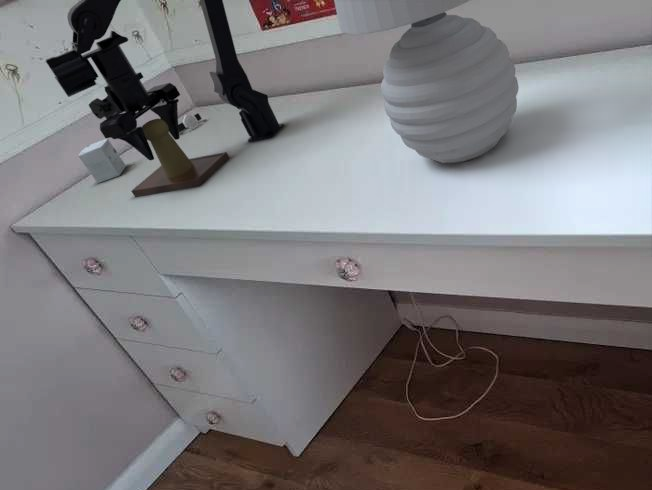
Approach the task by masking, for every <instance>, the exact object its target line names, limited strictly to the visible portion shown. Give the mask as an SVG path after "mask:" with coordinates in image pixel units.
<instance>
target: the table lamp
mask: <svg viewBox="0 0 652 490" xmlns="http://www.w3.org/2000/svg"><path fill="white" fill-rule="evenodd" d="M470 1H471V0H333V3H334V7H335V11H336V16H337V21H338V26H339V30H340V32H342V33H343V34H346V35H359V36H360V35H366V34H367V35H368V34H369V35H370V34H374V33H379V32H385V31H389V30H393V29H397V28H401V27H404V26H408V25H410V28H408V29H407V30H406V31H405V32H404V33H402V35H401V37H400V39H399V40H397V41H396V42H395V43H394V44H393V45H392V47H391V49H390V52H389V58H388V59H387V60H386V61H385V63H384V65H383V71H382V75H383V79H382V81H381V84H380V93H381V96H382V98H383V99H384V102H383V106H384V107H383V108H384V111H385V114H386V116H387V117H389V121H390V126H391V128H392V129H393V130H394V132H395V133H396V134H397V135H399V137H400V139H401V141H402V142H403V143H404V145H405V146H406V147H407V148H410V149H411V150H414V151H415V152H416V153H417V154H418V155H419V156H421V157H423V158H425V159H429V160H433V161H436V162H438V163H442V164H455V163H463V162H467V161H469V160H473V159H475V158H479V157H481V156H483V155H484V154H486V153H488V152H489V151H491V150H492V149H493V148H494V147H496V146H497V144H499V142H500V140H501V138H503V136H504V135H506V133H507V132H508V130H509V129H510V127H511V125H512V120H513V117H514V115H515V114H516V112H517V108H518V99H517V95H518V93H519V88H520V87H519V82H518V79H517V77H516V67H515V66H516V65H515V64H514V61H513V59H512V58H510V51H509V48H508V45H507V44H506V43H505V42H504V41H503V40H501V39H499V38H498V36H497V34H496V33H495V32H494V31H493V29H491V28H490V27H488V26H484V25H481V23H480V22H479V21H478V20H476V19H475V18H473V17H462V16H460V15H458V14H448V13H446V12H448V11H451V10H453V9H455V8H458V7H460V6H462V5H464V4H466V3H468V2H470Z"/></svg>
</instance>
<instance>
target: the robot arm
mask: <svg viewBox="0 0 652 490" xmlns="http://www.w3.org/2000/svg"><path fill="white" fill-rule="evenodd" d="M121 1H122V0H79V1H78V2H77V3H75V4H74V5H73V6H72V7H71V8H70V9H69V11H68V12H67V22H68V25H69V27H70V29H71V31H72V42H71V50H67V51H66V52H64V53H62V54H59V55H57V56H51V57H49V58H46V59H45V63H46V64H47V66H48V68H49V69H50V71H51V72H52V73H53V75H54V79H55V80H56V82H57V83H58V85H59V86H60V87H61V89H62V90H63V92H64V94H65V95H66V96H67V97H68V98H70V97H72V96H75V95H77V94H79V93H81V92H84V91H85V90H88V89H90V88H92V87H95V86H97V82H96V81H97V80H98V79H97V78H99V75H98V73H97V71H96V69H95V68H94V66H93V65H92V63H91V62H90V60H89V59H91V60H92V62H93V64H94V65H95V67H96V68H97V70H98V72H99V74H100V75H101V77H102V78H103V80H104V82H105V83H106V86H104V87H103V88H104V92H105V93H106V97H105V98H103V99H100V98H98V97H96V98H95V99H93V100H92V101H90V102H89V104H88V107H89V109H90V110H91V112H92V114H93V115H94V116H95V117H96V118H97V119H99V120H102V119H104V118H105V120H103V121H102V122H100V123H99V131H100V132H101V134H102V136H103V137H104V139H110V138H111V139H112V140H120V141H123V142H126V143H127V144H128V145H130V146H131V147H133V148H134V149H135V150H136V151H138V153H139V154H141V155H142V156H143V157H145V158H146V159H147V160H149V161H154V160H155V156H154V153H153V150H152V149H151V145H150V143H149V140H147V139H146V137H145V134H144V132H143V129H142V126H138V121H137V119H138V118H140V117H141V116H142V115H144V114H146V113H147V112H149V110H150V111H151V112H153V113H154V114H155V115H157V116H158V117H159V119H162V120H164V121H165V122H166V124H167V125H168V128H169V134H170V135H171V136H172V138H173V139H174V140H175V141H176V140H179V139H180V132H179V126H178V125H179V115H178V114H179V112H178V111H179V110H178V103H179V102H180V101H179V98H178V97H180V96H181V93H180V91H179V89H178V88H177V86H176V85H174V84H173V83H171V82H167V83H163V84H159V85H154V86H153V87H152V88H150V89H148V90H147V89H146V87H145V86H144V83H143V82H142V81H141V80H142V79H143V78H144V76H143V73H142V72H140V71H139V72H136V70H135V69H134V67H133V65H132V64H131V62H130V60H129V59H128V57H127V56H126V54H125V52H124V51H123V49H122V47H121V46H120V45H122V44H124V43H127V42H128V41H129V37H127V36H123V35H121V34H119V33H118V32H116V31H114V30H111V31H110V35H109V37H106V38H104V39H102V38H103V37H104V36H105V35H106V33H107V31H108V29H109V27H110V26H111V23H112V21H113V20H114V17H115V14H116V11H117V8H118V6H119V4H120V3H121ZM199 4H200V7H201V11H202V14H203V17H204V21H205V25H206V29H207V32H208V36H209V40H210V44H211V47H212V50H213V54H214V59H215V71H209V75H210V78H211V80H212V82H213V92H214V93H217V94H218V96H219V98H220V99H221V101H223V102H224V103H225V104H228V105H230V106H232V107H234V108H236V109H238V110H240V111H239V112H238V115H239V117H240V121H241V123H242V125H243V127H244V129H245V131H246V132H247V134H248V136H249V138H248V139H247V142H248V143H252V142H257V141H262V140H263V141H264V140H267V139H272V138H273V137H274V136H276V134H277V133H278V132H279V131H280V130H282V128H283V127H284V126H285V124H284V123H283V122H282V123H279V122H278V119H277V116H276V115H275V113H274V111H273V109H272V107H271V105H270V103H269V96H268V94H265V93H263V92H261V91H258V90H256V89H253V87H252V85H251V82H250V80H249V78H248V75H247V73H246V71H245V70H244V68H243V67H242V66H243V65H241V63H240V61H239V59H238V56H237V55H238V54H237V52H236V48H235V43H234V39H233V35H232V32H231V28H230V24H229V20H228V16H227V12H226V9H225V4H224V1H223V0H199ZM100 39H101V40H100ZM97 40H99V41H97ZM95 41H97V42H95ZM94 43H96V47H97V48H95V49H93V50H92V47H93V45H94Z"/></svg>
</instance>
